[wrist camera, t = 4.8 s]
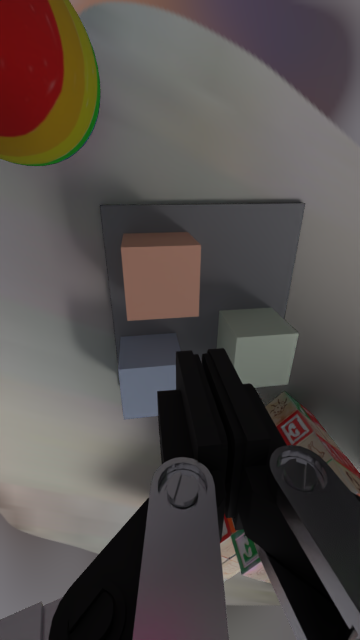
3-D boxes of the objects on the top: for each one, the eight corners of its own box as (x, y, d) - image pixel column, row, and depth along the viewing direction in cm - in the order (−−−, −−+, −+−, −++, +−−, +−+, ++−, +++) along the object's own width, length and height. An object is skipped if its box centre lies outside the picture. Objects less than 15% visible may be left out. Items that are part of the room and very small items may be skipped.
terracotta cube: (187, 232, 23) (201, 245, 18) (187, 291, 25) (198, 316, 20) (123, 233, 22) (120, 247, 17) (128, 294, 24) (127, 320, 20)
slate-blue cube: (175, 333, 26) (184, 364, 22) (176, 376, 29) (184, 413, 24) (120, 336, 26) (118, 369, 21) (125, 381, 28) (123, 419, 24)
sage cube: (271, 307, 27) (298, 333, 22) (264, 352, 29) (288, 384, 24) (219, 310, 26) (236, 337, 22) (216, 356, 28) (231, 390, 24)
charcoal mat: (302, 203, 23) (305, 203, 23) (272, 373, 31) (274, 375, 30) (100, 205, 21) (99, 205, 21) (121, 387, 29) (121, 389, 28)
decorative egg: (-15, -37, 15) (-221, -336, 6) (126, 66, 18) (120, -43, 9) (-50, 122, 18) (-229, 66, 9) (78, 191, 21) (37, 200, 12)
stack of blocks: (191, 508, 40) (213, 633, 29) (157, 493, 37) (168, 623, 26) (313, 413, 35) (396, 520, 24) (284, 388, 32) (361, 496, 21)
